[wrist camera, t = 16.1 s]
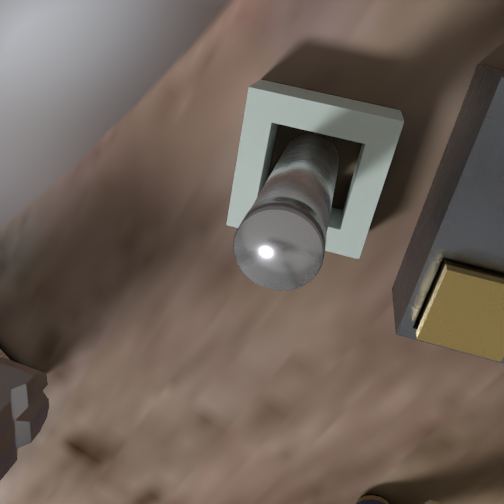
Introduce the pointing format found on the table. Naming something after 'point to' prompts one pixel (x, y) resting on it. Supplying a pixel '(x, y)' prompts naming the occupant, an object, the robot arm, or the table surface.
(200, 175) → the table surface
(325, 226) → the metal cylindrical peg
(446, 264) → the gold rectangular block
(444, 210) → the socket block
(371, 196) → the pale green square frame
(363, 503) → the rubber mallet
